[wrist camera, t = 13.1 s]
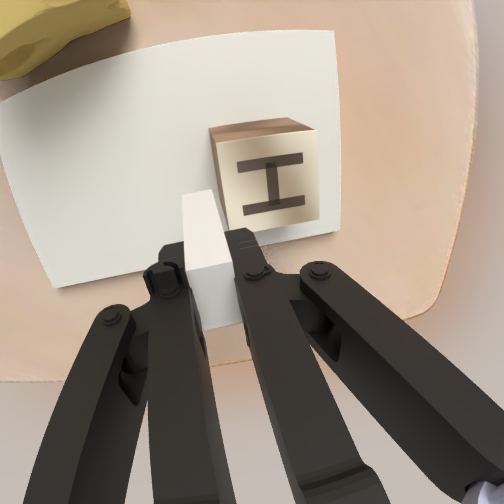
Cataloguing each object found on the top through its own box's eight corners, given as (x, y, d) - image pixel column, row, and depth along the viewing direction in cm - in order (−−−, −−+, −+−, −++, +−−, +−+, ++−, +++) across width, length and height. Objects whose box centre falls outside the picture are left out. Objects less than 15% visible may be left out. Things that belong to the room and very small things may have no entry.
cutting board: (57, 281, 27) (53, 288, 26) (-4, 106, 17) (-11, 108, 16) (334, 224, 30) (339, 230, 29) (327, 32, 20) (333, 30, 19)
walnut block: (319, 219, 21) (292, 188, 26) (317, 130, 17) (286, 117, 22) (230, 236, 20) (220, 200, 25) (216, 144, 17) (208, 128, 22)
